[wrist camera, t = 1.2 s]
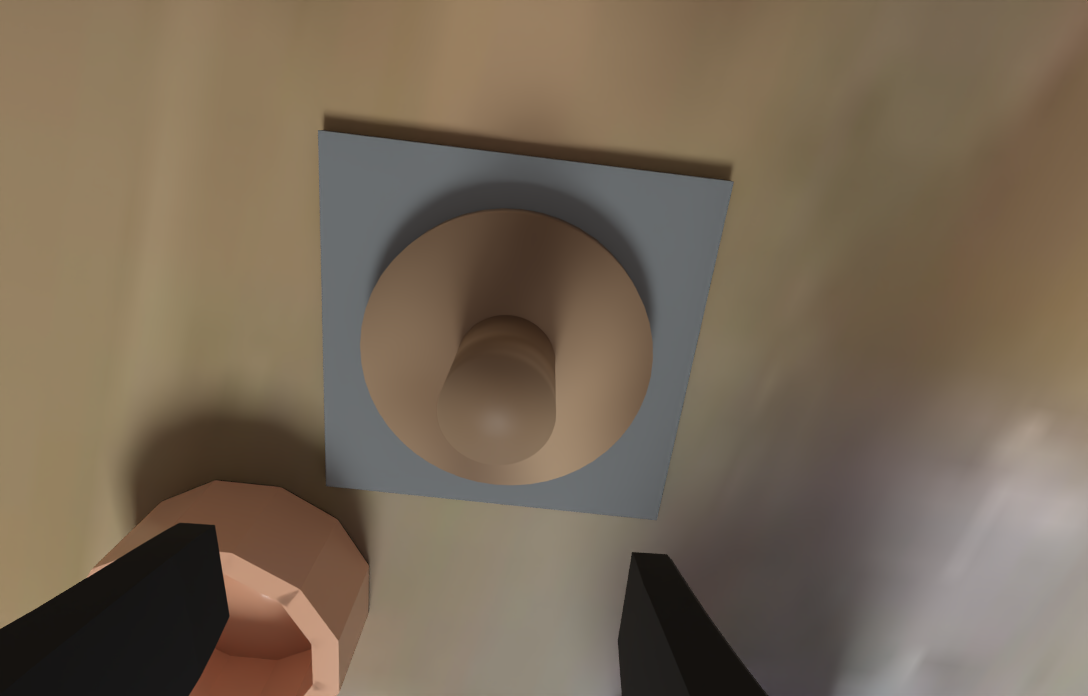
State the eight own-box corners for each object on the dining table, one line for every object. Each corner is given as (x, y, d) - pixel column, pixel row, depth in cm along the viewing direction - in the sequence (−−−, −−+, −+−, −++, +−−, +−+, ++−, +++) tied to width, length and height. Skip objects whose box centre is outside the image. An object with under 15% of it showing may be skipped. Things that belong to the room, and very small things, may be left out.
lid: (672, 226, 17) (711, 258, 13) (623, 481, 20) (642, 572, 16) (370, 191, 17) (311, 212, 13) (369, 454, 20) (320, 540, 16)
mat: (729, 180, 17) (733, 181, 17) (654, 513, 21) (656, 520, 21) (323, 130, 17) (318, 130, 16) (330, 479, 21) (325, 486, 21)
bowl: (369, 496, 21) (337, 563, 18) (368, 671, 24) (340, 755, 21) (124, 470, 21) (45, 534, 18) (154, 651, 24) (93, 733, 21)
